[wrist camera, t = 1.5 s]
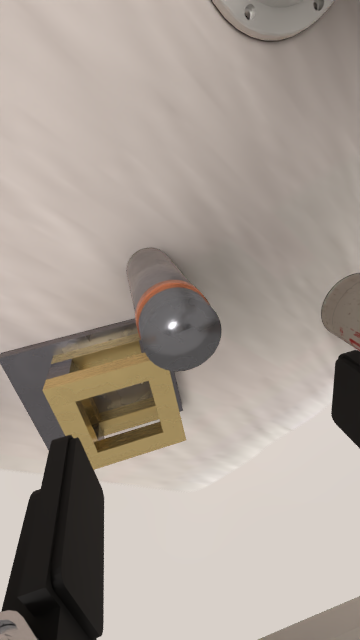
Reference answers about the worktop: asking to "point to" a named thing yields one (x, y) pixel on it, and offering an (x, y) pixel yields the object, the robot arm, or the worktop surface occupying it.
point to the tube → (170, 313)
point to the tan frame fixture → (98, 392)
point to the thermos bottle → (344, 310)
